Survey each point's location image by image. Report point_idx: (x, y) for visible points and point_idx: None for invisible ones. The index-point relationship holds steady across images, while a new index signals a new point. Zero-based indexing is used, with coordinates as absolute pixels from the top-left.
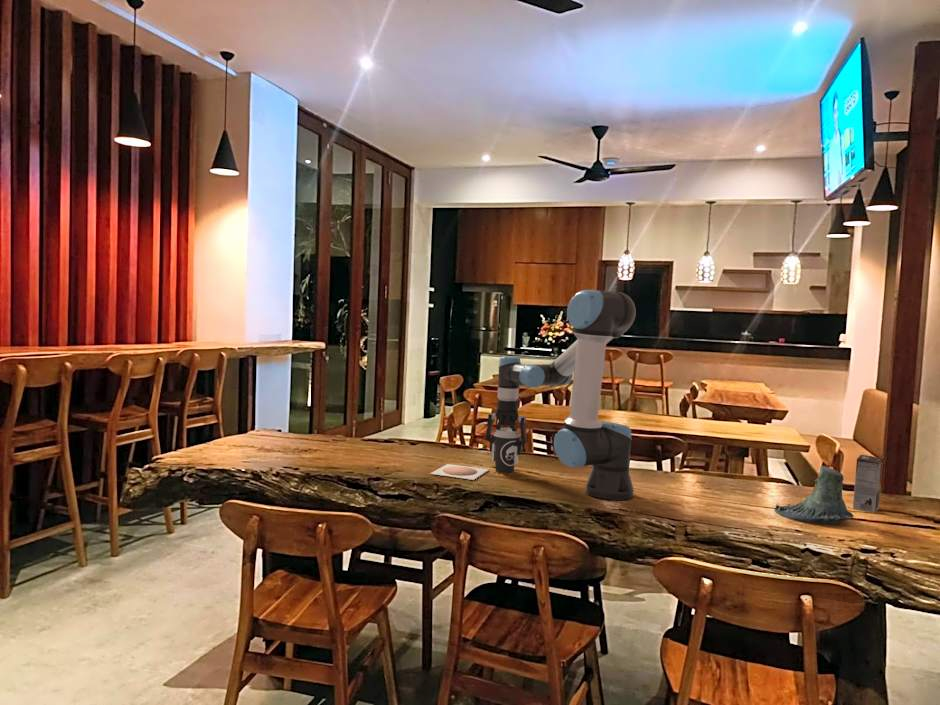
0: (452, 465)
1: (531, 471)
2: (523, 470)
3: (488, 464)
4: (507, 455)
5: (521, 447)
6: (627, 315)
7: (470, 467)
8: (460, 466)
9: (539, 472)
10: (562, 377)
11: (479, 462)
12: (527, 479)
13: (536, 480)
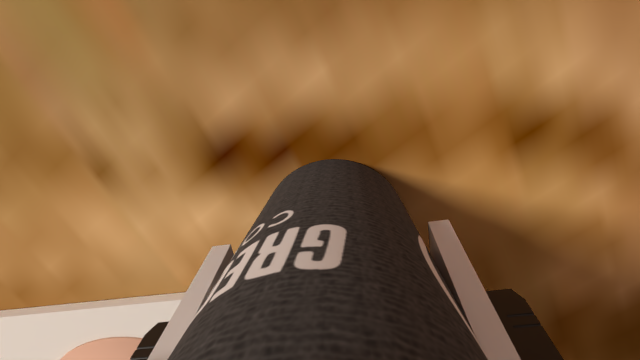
0: (13, 334)
1: (534, 97)
2: (458, 109)
3: (120, 107)
4: None
5: (561, 357)
6: None
7: (125, 316)
8: (64, 328)
9: (612, 84)
10: None
11: (23, 92)
12: (560, 324)
13: (626, 314)
